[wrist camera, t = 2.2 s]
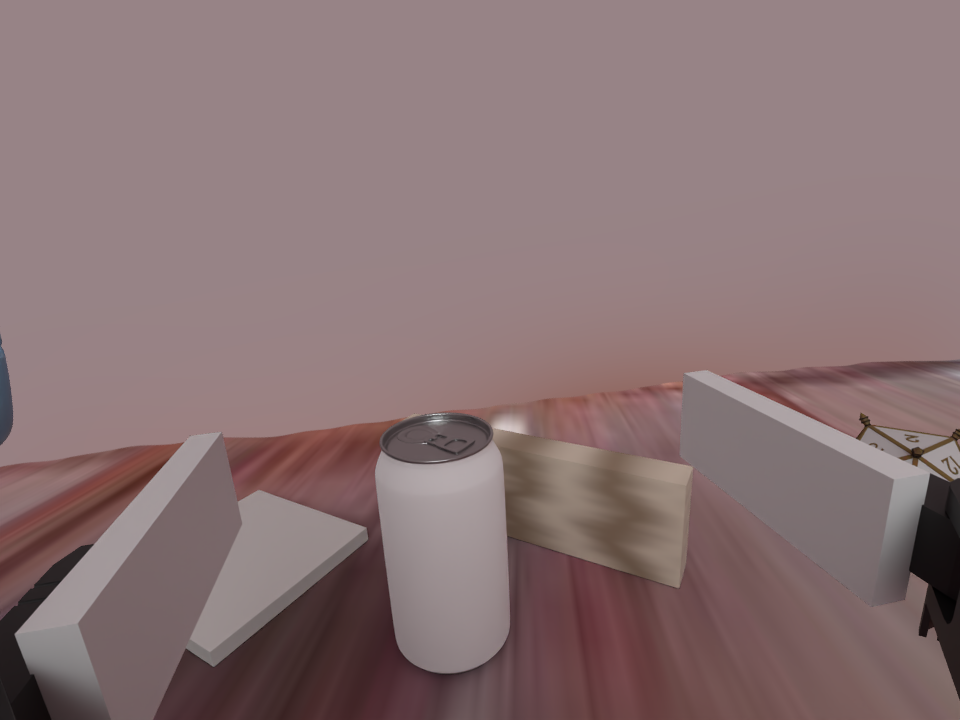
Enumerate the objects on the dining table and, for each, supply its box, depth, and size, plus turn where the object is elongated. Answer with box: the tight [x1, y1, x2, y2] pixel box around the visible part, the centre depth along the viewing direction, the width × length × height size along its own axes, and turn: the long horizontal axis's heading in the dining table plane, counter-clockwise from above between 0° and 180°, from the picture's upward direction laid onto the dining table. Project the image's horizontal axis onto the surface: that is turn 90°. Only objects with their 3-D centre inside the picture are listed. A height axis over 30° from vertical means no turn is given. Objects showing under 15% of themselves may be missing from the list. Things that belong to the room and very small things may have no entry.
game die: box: [856, 413, 960, 482], centre depth 33 cm, size 9×8×10 cm
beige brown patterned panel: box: [404, 414, 693, 589], centre depth 36 cm, size 21×2×7 cm, turn 60°
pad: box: [186, 490, 368, 667], centre depth 35 cm, size 12×12×1 cm
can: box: [375, 413, 510, 674], centre depth 27 cm, size 6×6×12 cm
